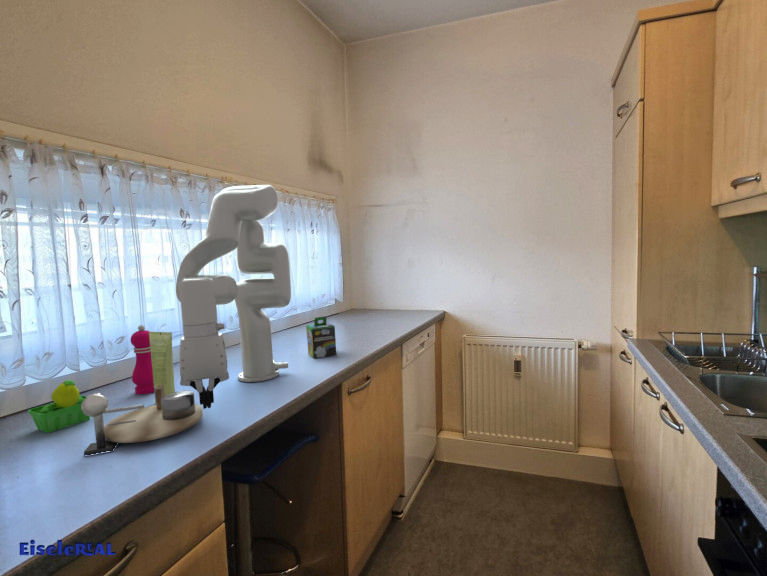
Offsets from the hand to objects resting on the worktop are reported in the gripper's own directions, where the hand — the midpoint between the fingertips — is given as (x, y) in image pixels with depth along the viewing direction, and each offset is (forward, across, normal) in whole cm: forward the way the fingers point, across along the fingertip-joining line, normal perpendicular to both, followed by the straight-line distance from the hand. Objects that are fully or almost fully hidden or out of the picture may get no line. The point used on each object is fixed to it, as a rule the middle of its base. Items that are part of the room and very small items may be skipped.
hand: (207, 406), depth 101 cm
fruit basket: (+4, +33, -13) cm, 36 cm away
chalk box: (+4, -37, -52) cm, 64 cm away
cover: (+1, +6, 0) cm, 6 cm away
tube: (+4, +12, -20) cm, 24 cm away
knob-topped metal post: (+4, +17, +7) cm, 19 cm away
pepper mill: (+4, +19, -33) cm, 38 cm away
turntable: (+2, +11, 0) cm, 11 cm away
